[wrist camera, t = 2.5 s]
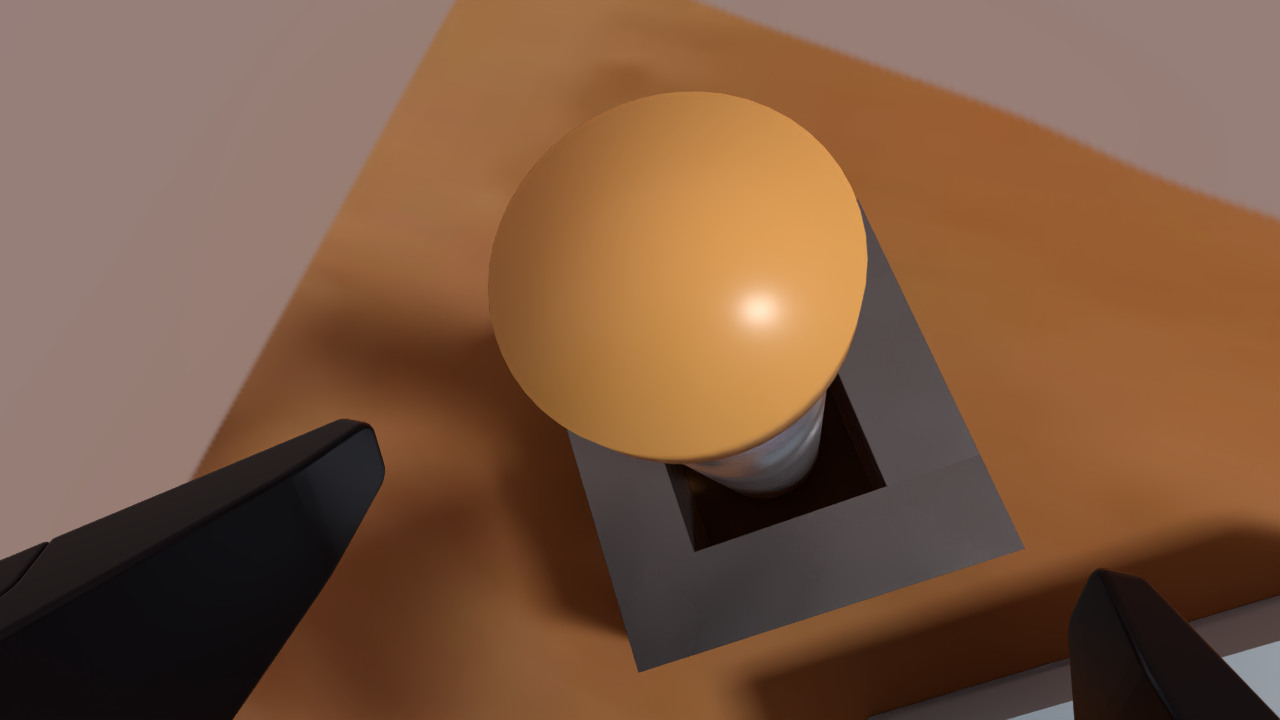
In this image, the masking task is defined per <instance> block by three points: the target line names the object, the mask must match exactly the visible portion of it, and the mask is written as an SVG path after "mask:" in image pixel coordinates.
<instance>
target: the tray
mask: <svg viewBox="0 0 1280 720" xmlns="http://www.w3.org/2000/svg"><path fill="white" fill-rule="evenodd" d="M1188 623H1189V624H1190V625H1191V626H1192V627H1193V628H1194V629H1195V630H1196V631H1197V633H1198V634H1199V635H1200V636H1201V637H1202V638H1203V639H1204V640H1205V641H1206V642H1207V643H1208V644H1209V645H1210V646H1211V647H1212V648H1213V649H1214V650H1215V651H1216V652H1217V653H1218V654H1219V655H1220V656H1221V657H1222V658H1223V660H1224V661H1225V662H1226V663H1227V664H1228V665H1229V666H1230V667H1231V668H1232V669H1233V670H1234V671H1235V672H1236V673H1237V674H1238V675H1239V676H1240V677H1241V678H1242V679H1243V680H1244V681H1245V682H1246V683H1247V684H1248V686H1249V687H1250V688H1251V689H1252V690H1253V691H1254V692H1255V693H1256V694H1257V695H1258V696H1259V697H1260V698H1261V699H1262V700H1263V701H1264V702H1265V703H1266V704H1267V705H1268V706H1269V707H1270V708H1271V709H1272V710H1273V711H1274V713H1275V714H1276V715H1277V716H1278V717H1279V718H1280V595H1278V596H1274V597H1271V598H1268V599H1264V600H1261V601H1258V602H1254V603H1251V604H1248V605H1244V606H1241V607H1237V608H1234V609H1231V610H1227V611H1224V612H1221V613H1217V614H1214V615H1211V616H1207V617H1204V618H1200V619H1197V620H1194V621H1190V622H1188ZM867 720H1074V711H1073V698H1072V684H1071V671H1070V658H1066V659H1063V660H1059V661H1056V662H1053V663H1049V664H1046V665H1042V666H1039V667H1036V668H1032V669H1029V670H1026V671H1022V672H1019V673H1016V674H1012V675H1009V676H1006V677H1002V678H999V679H995V680H992V681H989V682H985V683H982V684H979V685H975V686H972V687H969V688H965V689H962V690H958V691H955V692H952V693H948V694H945V695H942V696H938V697H935V698H932V699H928V700H925V701H921V702H918V703H915V704H911V705H908V706H905V707H901V708H898V709H895V710H891V711H888V712H885V713H881V714H878V715H874V716H871V717H868V718H867Z"/></svg>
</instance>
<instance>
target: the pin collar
mask: <svg viewBox="0 0 1280 720" xmlns="http://www.w3.org/2000/svg"><path fill="white" fill-rule="evenodd" d="M856 200H857V203H858V205H859V208H860V211H861V215H862V220H863V224H864V229H865V233H866V245H867V258H868V260H867V274H866V286H865V290H864V295H863V300H862V304H861V309H860V313H859V317H858V322H857V326H856V330H855V334H854V338H853V340H852V343H851V346H850V348H849V351H848V354H847V356H846V359H845V361H844V362H843V364H842V366H841V368H840V370H839V372H838V374H837V375H836V377H835V379H834V380H833V382H832V383H831V385H830V386H829V387H830V390H831V392H832V394H833V397H834V399H835V401H836V404H837V406H838V409H839V411H840V413H841V416H842V418H843V420H844V423H845V425H846V427H847V430H848V432H849V435H850V437H851V439H852V442H853V444H854V446H855V449H856V451H857V453H858V456H859V458H860V461H861V463H862V465H863V468H864V470H865V472H866V475H867V477H868V479H869V482H870V484H871V487H872V489H873V491H872V492H869V493H866V494H863V495H860V496H857V497H854V498H851V499H848V500H845V501H842V502H840V503H837V504H834V505H831V506H828V507H825V508H822V509H819V510H816V511H813V512H810V513H808V514H805V515H802V516H799V517H796V518H793V519H790V520H787V521H784V522H781V523H778V524H775V525H773V526H770V527H767V528H764V529H761V530H758V531H755V532H752V533H749V534H746V535H743V536H740V537H738V538H735V539H732V540H729V541H726V542H723V543H720V544H717V545H714V546H711V545H710V542H709V539H708V536H707V533H706V530H705V527H704V524H703V521H702V518H701V515H700V513H699V510H698V507H697V504H696V501H695V498H694V495H693V492H692V489H691V486H690V483H689V480H688V478H687V475H686V472H685V469H684V466H683V464H667V463H659V462H651V461H646V460H642V459H638V458H634V457H630V456H626V455H624V454H622V453H619V452H617V451H614V450H612V449H609V448H607V447H604V446H602V445H600V444H597V443H595V442H592V441H590V440H587V439H585V438H583V437H580V436H579V435H577V434H575V433H573V432H572V431H570V430H568V429H567V432H568V435H569V439H570V442H571V445H572V449H573V452H574V456H575V459H576V462H577V466H578V469H579V472H580V476H581V479H582V483H583V486H584V489H585V493H586V496H587V500H588V503H589V506H590V510H591V513H592V516H593V520H594V523H595V527H596V530H597V533H598V537H599V540H600V544H601V547H602V550H603V554H604V557H605V560H606V564H607V567H608V571H609V574H610V577H611V581H612V584H613V588H614V591H615V594H616V598H617V601H618V604H619V608H620V611H621V615H622V618H623V621H624V625H625V628H626V632H627V635H628V638H629V642H630V645H631V648H632V652H633V655H634V659H635V662H636V665H637V669H638V672H642V671H645V670H648V669H651V668H654V667H658V666H661V665H664V664H667V663H670V662H673V661H676V660H679V659H682V658H686V657H689V656H692V655H695V654H698V653H701V652H704V651H707V650H710V649H714V648H717V647H720V646H723V645H726V644H729V643H732V642H735V641H738V640H742V639H745V638H748V637H751V636H754V635H757V634H760V633H763V632H766V631H770V630H773V629H776V628H779V627H782V626H785V625H788V624H791V623H794V622H798V621H801V620H804V619H807V618H810V617H813V616H816V615H819V614H822V613H826V612H829V611H832V610H835V609H838V608H841V607H844V606H847V605H850V604H854V603H857V602H860V601H863V600H866V599H869V598H872V597H875V596H878V595H882V594H885V593H888V592H891V591H894V590H897V589H900V588H903V587H906V586H910V585H913V584H916V583H919V582H922V581H925V580H928V579H931V578H934V577H938V576H941V575H944V574H947V573H950V572H953V571H956V570H959V569H962V568H966V567H969V566H972V565H975V564H978V563H981V562H984V561H987V560H990V559H994V558H997V557H1000V556H1003V555H1006V554H1009V553H1012V552H1015V551H1018V550H1022V549H1025V548H1024V546H1023V544H1022V542H1021V540H1020V537H1019V535H1018V533H1017V531H1016V529H1015V527H1014V525H1013V523H1012V521H1011V519H1010V517H1009V514H1008V512H1007V510H1006V508H1005V506H1004V504H1003V502H1002V500H1001V498H1000V496H999V494H998V491H997V489H996V487H995V485H994V483H993V481H992V479H991V477H990V475H989V473H988V471H987V468H986V466H985V464H984V462H983V460H982V458H981V456H980V454H979V452H978V450H977V447H976V445H975V443H974V441H973V439H972V437H971V435H970V433H969V431H968V429H967V427H966V424H965V422H964V420H963V418H962V416H961V414H960V412H959V410H958V408H957V406H956V404H955V401H954V399H953V397H952V395H951V393H950V391H949V389H948V387H947V385H946V383H945V381H944V378H943V376H942V374H941V372H940V370H939V368H938V366H937V364H936V362H935V360H934V357H933V355H932V353H931V351H930V349H929V347H928V345H927V343H926V341H925V339H924V337H923V334H922V332H921V330H920V328H919V326H918V324H917V322H916V320H915V318H914V316H913V314H912V311H911V309H910V307H909V305H908V303H907V301H906V299H905V297H904V295H903V293H902V291H901V288H900V286H899V284H898V282H897V280H896V278H895V276H894V274H893V272H892V270H891V268H890V265H889V263H888V261H887V259H886V257H885V255H884V253H883V251H882V249H881V247H880V244H879V242H878V240H877V238H876V236H875V234H874V232H873V230H872V228H871V226H870V224H869V221H868V219H867V217H866V215H865V213H864V211H863V209H862V207H861V205H860V203H859V201H858V199H856Z"/></svg>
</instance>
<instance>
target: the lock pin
mask: <svg viewBox="0 0 1280 720" xmlns="http://www.w3.org/2000/svg"><path fill="white" fill-rule="evenodd" d="M867 260H868V258H867V245H866V233H865V229H864V224H863V220H862V215H861V211H860V208H859V205H858V203H857V200H856V198H855V195H854V193H853V190H852V187H851V186H850V184H849V182H848V180H847V179H846V177H845V175H844V173H843V172H842V170H841V168H840V166H839V165H838V164H837V163H836V161H835V160H834V159H833V157H832V156H831V155H830V154H829V152H828V151H827V150H826V149H825V147H824V146H822V145H821V144H820V143H819V142H818V141H817V140H816V139H815V138H814V137H813V136H812V135H811V134H810V133H809V132H808V131H806V130H805V129H804V128H802V127H801V126H799V125H798V124H797V123H795V122H794V121H792V120H791V119H790V118H788V117H786V116H784V115H782V114H780V113H778V112H777V111H775V110H773V109H771V108H769V107H766V106H764V105H761V104H758V103H756V102H753V101H750V100H747V99H744V98H739V97H735V96H731V95H726V94H720V93H710V92H673V93H666V94H659V95H653V96H649V97H645V98H641V99H637V100H633V101H630V102H627V103H624V104H622V105H619V106H617V107H614V108H611V109H609V110H607V111H605V112H603V113H601V114H599V115H597V116H595V117H593V118H591V119H589V120H588V121H586V122H585V123H583V124H582V125H580V126H579V127H577V128H575V129H574V130H572V131H571V132H569V133H568V134H567V135H566V136H565V137H563V138H562V139H561V140H560V141H559V142H557V143H556V144H555V145H554V146H553V147H551V148H550V149H549V150H548V151H547V153H546V154H545V155H544V156H543V157H542V158H541V159H540V160H539V161H538V162H537V163H536V164H535V165H534V167H533V168H532V169H531V170H530V172H529V173H528V174H527V176H526V177H525V178H524V179H523V181H522V182H521V184H520V185H519V187H518V189H517V190H516V192H515V194H514V195H513V197H512V199H511V200H510V202H509V204H508V206H507V209H506V211H505V213H504V215H503V217H502V220H501V222H500V225H499V228H498V231H497V234H496V237H495V241H494V244H493V249H492V254H491V260H490V265H489V279H488V296H489V311H490V315H491V320H492V325H493V330H494V334H495V337H496V340H497V343H498V345H499V348H500V351H501V354H502V356H503V358H504V360H505V362H506V364H507V366H508V368H509V369H510V371H511V373H512V375H513V376H514V378H515V379H516V381H517V382H518V383H519V385H520V386H521V388H522V389H523V391H524V392H525V393H526V394H527V395H528V396H529V397H530V398H531V400H532V401H533V402H534V403H535V404H536V405H537V406H538V407H539V408H540V409H541V410H542V411H543V412H545V413H546V414H547V415H548V416H550V417H551V418H552V419H553V420H555V421H556V422H557V423H558V424H560V425H562V426H563V427H565V428H567V429H568V430H570V431H572V432H573V433H575V434H577V435H579V436H580V437H583V438H585V439H587V440H590V441H592V442H595V443H597V444H600V445H602V446H604V447H607V448H609V449H612V450H614V451H617V452H619V453H622V454H624V455H626V456H630V457H634V458H638V459H642V460H646V461H651V462H659V463H667V464H684V465H686V466H688V467H690V468H692V469H693V470H695V471H697V472H699V473H701V474H703V475H705V476H707V477H709V478H711V479H712V480H714V481H716V482H718V483H720V484H722V485H724V486H726V487H728V488H730V489H731V490H733V491H735V492H737V493H739V494H742V495H744V496H748V497H752V498H759V499H767V498H774V497H778V496H782V495H784V494H787V493H789V492H791V491H792V490H794V489H796V488H797V487H798V486H799V485H801V484H802V483H803V482H804V481H805V479H806V478H807V477H808V476H809V474H810V473H811V471H812V469H813V467H814V465H815V463H816V460H817V456H818V451H819V444H820V436H821V428H822V421H823V413H824V405H825V398H826V390H827V389H828V387H829V386H830V385H831V383H832V382H833V380H834V379H835V377H836V375H837V374H838V372H839V370H840V368H841V366H842V364H843V362H844V361H845V359H846V356H847V354H848V351H849V348H850V346H851V343H852V340H853V338H854V334H855V330H856V326H857V322H858V317H859V313H860V309H861V304H862V300H863V295H864V290H865V286H866V274H867Z"/></svg>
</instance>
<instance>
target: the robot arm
mask: <svg viewBox="0 0 1280 720" xmlns="http://www.w3.org/2000/svg"><path fill="white" fill-rule="evenodd" d="M384 475H385V466H384V462H383V459H382V455H381V452H380V448H379V445H378V442H377V438H376V435H375V432H374V429H373V428H372V427H371V426H370V424H368V423H365V422H361V421H356V420H350V419H339V420H336V421H334V422H332V423H329V424H327V425H324V426H322V427H320V428H317V429H315V430H312V431H310V432H308V433H305V434H303V435H300V436H298V437H296V438H293V439H291V440H288V441H286V442H284V443H281V444H279V445H276V446H274V447H272V448H269V449H267V450H264V451H262V452H260V453H257V454H255V455H252V456H250V457H248V458H245V459H243V460H240V461H238V462H236V463H233V464H231V465H228V466H226V467H224V468H221V469H219V470H216V471H214V472H212V473H209V474H207V475H204V476H202V477H200V478H197V479H195V480H192V481H190V482H188V483H185V484H183V485H180V486H178V487H176V488H173V489H171V490H169V491H166V492H164V493H161V494H159V495H156V496H154V497H152V498H149V499H147V500H144V501H142V502H140V503H137V504H135V505H132V506H130V507H128V508H125V509H123V510H121V511H118V512H116V513H114V514H111V515H109V516H106V517H104V518H101V519H99V520H96V521H95V522H92V523H89V524H87V525H84V526H82V527H80V528H78V529H75V530H72V531H70V532H68V533H65V534H63V535H60V536H58V537H56V538H54V539H52V540H51V541H50V543H49V542H44V543H41V544H38V545H36V546H34V547H31V548H29V549H26V550H24V551H22V552H20V553H17V554H15V555H12V556H10V557H7V558H5V559H2V560H0V720H233V719H234V717H235V716H236V714H237V713H238V711H239V710H240V708H241V707H242V706H243V704H244V703H245V701H246V700H247V698H248V697H249V695H250V694H251V692H252V691H253V689H254V688H255V687H256V685H257V684H258V682H259V681H260V679H261V678H262V676H263V675H264V673H265V672H266V671H267V669H268V668H269V666H270V665H271V663H272V662H273V660H274V659H275V657H276V656H277V654H278V653H279V652H280V650H281V649H282V647H283V646H284V644H285V643H286V641H287V640H288V638H289V637H290V636H291V634H292V633H293V631H294V630H295V628H296V627H297V625H298V624H299V622H300V621H301V619H302V618H303V617H304V615H305V614H306V612H307V611H308V609H309V608H310V606H311V605H312V603H313V602H314V601H315V599H316V598H317V596H318V595H319V593H320V592H321V590H322V589H323V587H324V586H325V584H326V583H327V581H328V580H329V578H330V576H331V575H332V573H333V571H334V570H335V568H336V566H337V565H338V563H339V561H340V559H341V558H342V556H343V554H344V552H345V550H346V549H347V547H348V545H349V543H350V541H351V539H352V538H353V536H354V534H355V532H356V530H357V529H358V527H359V525H360V523H361V521H362V520H363V518H364V516H365V514H366V512H367V510H368V509H369V507H370V505H371V503H372V501H373V500H374V498H375V496H376V494H377V492H378V491H379V489H380V487H381V485H382V483H383V479H384ZM1068 644H1069V658H1070V671H1071V684H1072V698H1073V711H1074V720H1280V718H1279V717H1278V716H1277V715H1276V714H1275V713H1274V711H1273V710H1272V709H1271V708H1270V707H1269V706H1268V705H1267V704H1266V703H1265V702H1264V701H1263V700H1262V699H1261V698H1260V697H1259V696H1258V695H1257V694H1256V693H1255V692H1254V691H1253V690H1252V689H1251V688H1250V687H1249V686H1248V684H1247V683H1246V682H1245V681H1244V680H1243V679H1242V678H1241V677H1240V676H1239V675H1238V674H1237V673H1236V672H1235V671H1234V670H1233V669H1232V668H1231V667H1230V666H1229V665H1228V664H1227V663H1226V662H1225V661H1224V660H1223V658H1222V657H1221V656H1220V655H1219V654H1218V653H1217V652H1216V651H1215V650H1214V649H1213V648H1212V647H1211V646H1210V645H1209V644H1208V643H1207V642H1206V641H1205V640H1204V639H1203V638H1202V637H1201V636H1200V635H1199V634H1198V633H1197V631H1196V630H1195V629H1194V628H1193V627H1192V626H1191V625H1190V624H1189V623H1188V622H1187V621H1186V620H1185V619H1184V618H1183V617H1182V616H1181V615H1180V614H1179V613H1178V612H1177V611H1176V610H1175V609H1174V608H1173V607H1172V605H1171V604H1170V603H1169V602H1168V601H1167V600H1166V599H1165V598H1164V597H1163V596H1162V595H1161V594H1160V593H1159V592H1158V591H1157V590H1156V589H1155V588H1154V587H1153V586H1152V585H1151V584H1150V583H1149V582H1148V581H1147V580H1146V579H1145V578H1143V577H1142V576H1139V575H1137V574H1133V573H1128V572H1123V571H1118V570H1113V569H1108V568H1098V569H1096V570H1095V571H1094V572H1093V573H1092V574H1091V575H1090V577H1089V579H1088V581H1087V583H1086V585H1085V587H1084V589H1083V592H1082V594H1081V596H1080V598H1079V600H1078V602H1077V604H1076V606H1075V608H1074V610H1073V612H1072V615H1071V617H1070V621H1069V627H1068Z"/></svg>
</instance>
